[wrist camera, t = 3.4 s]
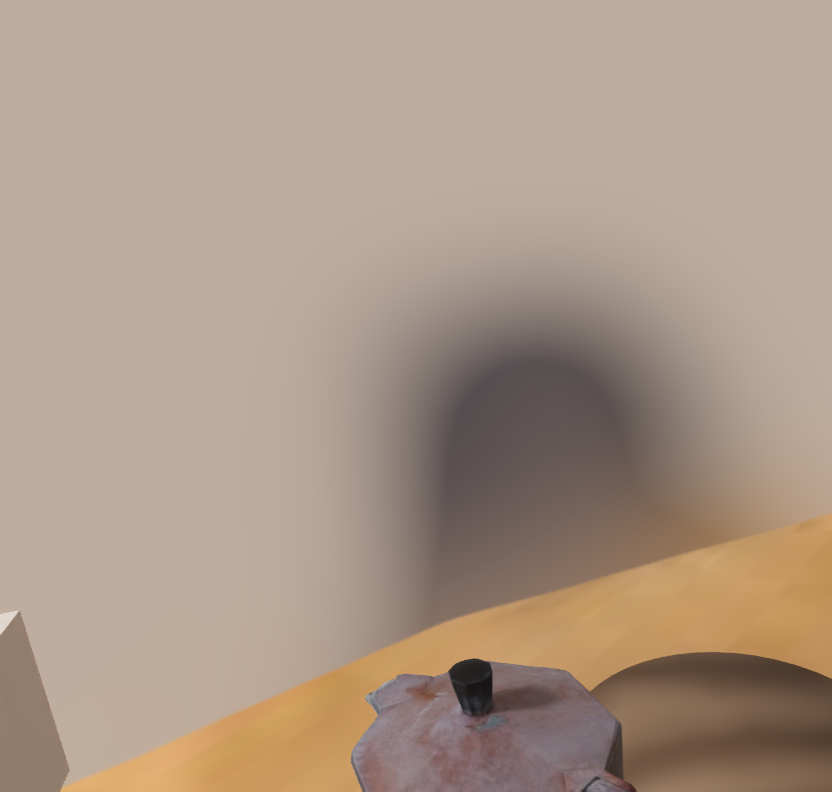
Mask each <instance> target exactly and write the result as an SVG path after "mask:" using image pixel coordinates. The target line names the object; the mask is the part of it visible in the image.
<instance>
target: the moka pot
mask: <svg viewBox="0 0 832 792" xmlns="http://www.w3.org/2000/svg"><path fill="white" fill-rule="evenodd" d="M365 699H366V701H367V702H368V703H369V704H370V705H371V706H372V707H373V708H374V710H375V711H376V713H377V715H378V716H377V718H376V719H375V721H374V722H373V724H372V725H371V726H370V727H369V728H368V730H367V731H366V732H365V733H364V734H363V736H362V737H361V739H360V740H359V741H358V743H357V744H356V746H355V747H354V749H353V750H352V756H351V763H352V766H353V769H354V771H355V774H356V776H357V779H358V781H359V784H360V787H361V789H362V792H637V790H636V789H635V788H634V786H633V785H632V784H630V783H628V782H626V781H624V779H623V744H622V725H621V723H620V722H619V721H618V720H617V719H616V718H615V717H614V716H613V715H612V714H611V713H610V712H609V711H608V709H606V708H605V707H604V706H603V705H602V704H601V703H600V702H599V701H598V700H597V699H596V698H595V697H594V696H593V695H592V694H591V693H590V692H589V691H588V690H587V689H586V688H585V687H584V686H583V685H582V684H581V683H580V682H579V681H577V680H576V679H575V678H574V677H573V676H572V675H571V674H570V673H569V672H567V671H565V670H560V669H553V668H545V667H532V666H523V665H515V664H507V663H497V662H490V661H483V660H480V659H468V660H464V661H461V662H459V663H456V664H455V665H454V666H453V667H452V668H451V669H450V670H449V671H448V672H447V673H445V674H442V675H438V676H435V677H431V676H425V675H413V674H402V675H398V676H397V677H396V679H393V680H389V681H387V682H385V683H383V684H382V685H381V686H380V687H379V688H378V689H377V690H376V691H374V692H373V693H369V694H368V695H367V696H366V697H365Z"/></svg>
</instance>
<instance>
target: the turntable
mask: <svg viewBox="0 0 832 792" xmlns="http://www.w3.org/2000/svg"><path fill="white" fill-rule="evenodd" d="M590 693H591V694H592V695H593V696H594V697H595V698H596V699H597V700H598V701H599V702H600V703H601V704H602V705H603V706H604V707H605V708H606V709H608V711H609V712H610V713H611V714H612V715H613V716H614V717H615V718H616V719H617V720H618V721H619V722H620V723H621V725H622V744H623V779H624V781H626V782H628V783H630V784H632V785H633V786H634V788H635V789H636V790H637V792H832V679H830V678H828V677H826V676H824V675H821V674H819V673H817V672H814V671H811V670H808V669H805V668H803V667H800V666H797V665H793V664H790V663H786V662H782V661H779V660H775V659H770V658H764V657H759V656H754V655H745V654H737V653H721V652H703V653H687V654H677V655H672V656H666V657H661V658H657V659H653V660H649V661H646V662H642V663H639V664H637V665H634V666H631V667H629V668H626V669H624V670H622V671H620V672H618V673H616V674H614V675H612V676H611V677H609V678H608V679H606V680H605V681H603V682H602V683H600V684H599V685H597V686H596V687H595V688H594V689H593V690H592V691H590Z"/></svg>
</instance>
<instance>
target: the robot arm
mask: <svg viewBox="0 0 832 792" xmlns="http://www.w3.org/2000/svg"><path fill="white" fill-rule="evenodd" d="M68 772H69V767H68V763H67V760H66V757H65V754H64V751H63V747H62V744H61V741H60V738H59V735H58V732H57V728H56V725H55V722H54V719H53V716H52V712H51V709H50V706H49V703H48V700H47V696H46V693H45V690H44V687H43V684H42V681H41V677H40V674H39V671H38V668H37V665H36V661H35V658H34V655H33V652H32V648H31V645H30V642H29V639H28V636H27V633H26V629H25V626H24V623H23V620H22V617H21V613H20V611H14V612H8V613H3V614H0V792H60V790H61V788H62V786H63V783H64V781H65V779H66V777H67V774H68Z"/></svg>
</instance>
